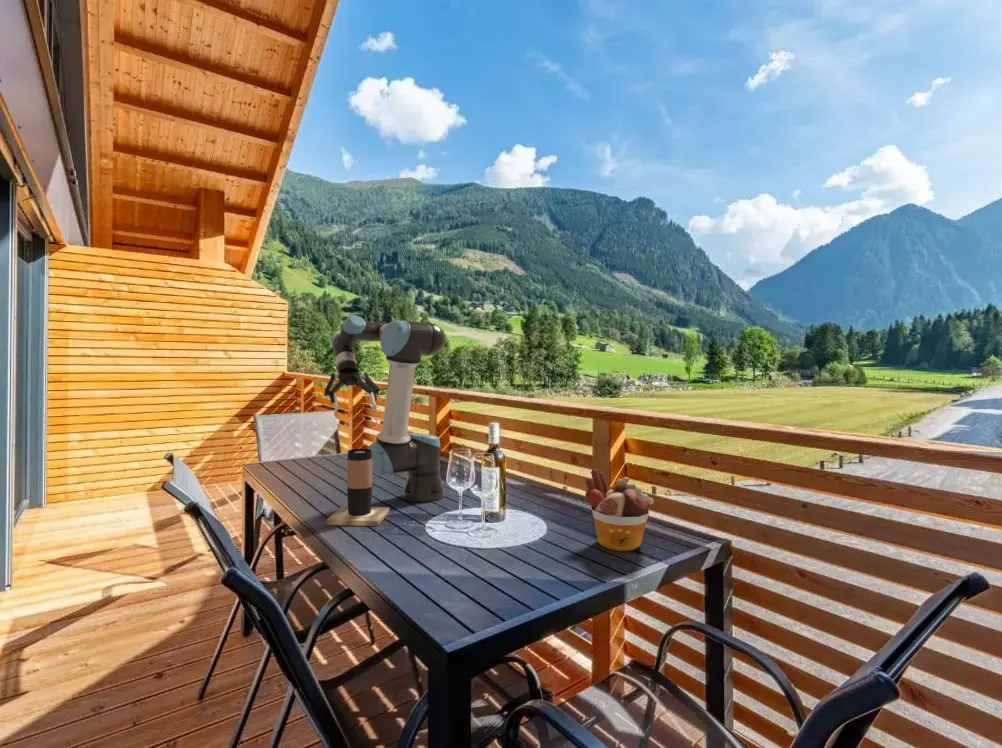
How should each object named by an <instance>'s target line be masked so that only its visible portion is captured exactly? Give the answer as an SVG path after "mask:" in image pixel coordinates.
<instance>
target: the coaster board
mask: <svg viewBox="0 0 1002 748" xmlns="http://www.w3.org/2000/svg"><path fill="white" fill-rule="evenodd" d="M388 514H390V507H387V506H371V513H369V514H367V515H363V516H352V515H349V514H348V505H347V506H344V505H343V506H341V507H340V508H338V509H337V510H336V511H335V512H334V513H333V514H332V515H331V516H329V517H328V518H327V519H326V526H329V525H330V526H335V525H336V526H362V527H364V526H365V527H366V526H367V527H368V526H369V527H370V526H371V527H378V526H379V525H380V524H381V523H382V522H383V520H384V519H385V518H386V517H387V515H388Z"/></svg>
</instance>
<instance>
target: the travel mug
mask: <svg viewBox="0 0 1002 748" xmlns="http://www.w3.org/2000/svg"><path fill="white" fill-rule="evenodd" d="M346 468H347V471H346V472H347V474H346V476H347V481H346V483H347V485H346V487H347V488H346V489H347V506H348V514H349V515H352V516H363V515H367V514H369V513H371V507H372V496H373V495H372V494H373V493H372V492H373V469H372V452H371V450H370V449H369V448H353V449H349V450H347V467H346Z"/></svg>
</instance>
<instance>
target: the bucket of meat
mask: <svg viewBox="0 0 1002 748" xmlns="http://www.w3.org/2000/svg"><path fill="white" fill-rule="evenodd" d="M590 471H591V472H590V474H591V477H592V478H590V477H587V478H585V480H584V481H585V482H584V483H585V485H586V487H587V490H586V491H585V499H586V500H587V502H588V503H589V505H590V506H591V512H592V517H593V521H594V528H595V532H596V536H597V537H596V538H597V542H598V544H600V546H601V547H603V548H605V549H607V550H611V551H616V552H632V551H634V550H637V549H638V548H639V547H641V544H642V540H643V536H644V533H645V529H646V525H647V520H648V517H649V514H650V512H649V511H650V510H649V508H650V505H653V504H654V499H653V498H652V497H649V495H648V494H646V493H643V489H642V487H640V486H636V484H631V483H630V484H629V482H630V478H629V477H627V476H624V477H623V478H620V479H617V480H616V484H618V485H616V486H614V487H613V488H611V489H610V488H609V484H608V481H607V479H606V475H605V473H604V472H603V471H598V470H597V469H596V468H592V469H591V470H590Z"/></svg>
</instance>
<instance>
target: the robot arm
mask: <svg viewBox="0 0 1002 748" xmlns="http://www.w3.org/2000/svg"><path fill="white" fill-rule="evenodd" d="M359 341H360V342H361V341H362V342H366V341H367V342H380V347H381V348H380V349H381V351H382V354H384V355H385V360H386V361H387V362H388V364H389V369H388V376H387V377H388V378H387V384H386V385H387V386H386V395H385V402H384V403H385V405H384V410H383V411H384V412H383V421H382V429H381V431H380V432H378V433H377V435H376V441H374V442H372V443H370V445H369V446H368V449H370V450H371V452H372V471H373V472H374V473H375V474H377V475H378V476H392V475H395V474H400V473H406V472H407V479H406V480H405V484H404V486H403V487H404V488H403V490H402V498H403V499H404V500H407V501H410V502H417V503H418V502H420V503H421V502H424V503H427V502H434V501H438V500H440V499H443V498H444V497H445V488H444V484H443V481H442V478H441V472H440V471H441V460H440V459H441V458H440V457H441V443H440V442H441V440H440V438H439V437H438V436H436V435H434V434H433V435H432V434H428V433H413V432H412V433H408V428H409V421H410V414H411V413H410V411H411V404H412V396H413V388H414V381H415V373H416V368H417V367H418V366H419V365H420V364H421V361H422V357H425V356H426V357H427V356H434V355H436V354H438V353H440V352H441V351H442V349H443V348H444V346H445V345H446V344H445V343H446V333H445V332H444V330H443V328H442V327H440V326H439V325H438V324H436V323H434V322H426V321H425V322H424V321H412V320H393V321H390V322H372V321H371V322H370V321H366V320H365V319H364V318H363V317H361V316H358V315H357V314H356V315H355V314H351V315H349V316H348V317H346V319H345V321H344V323H343V325H342V327H341V330H340V332H339V333H337V334H335V335H334V336H332V340H331V344H332V349H333V350H332V351H333V354H334V360H335V364H336V369H337V374H335V373H334V372H332V373H330V378H329V381H328V383H327V385H326V387H325V389H324V393H323V395H324V396H325V397H326V396H327V397H328V398H329V399H330V403H331V404H333V407H334V411H335V412H338V410H339V402H338V396H337V393H338V392H339V390H340V389H341V388H343V387H344V386H348V387H349V386H357V387H358V388H360V389H361V390H363V391H365V392H366V393H367V394H369V399H370V404H371V408H372V410H373V411H374V410H375V409H376V407H377V403H376V402H377V399H378V397H377V395H379V393H380V390H381V388H380V387H379V386H378V385H377V384H376V383H375V382H374V381H373V380H372V379H371V378H370V377H369V374H368V373H367V372H364V373H363V374H361V373H359V368H358V364H357V359H356V355H355V347H356V346H357V344H358V342H359ZM337 380H338V383H336V384H335V385H334V382H335V381H337ZM333 385H334V386H333Z"/></svg>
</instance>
